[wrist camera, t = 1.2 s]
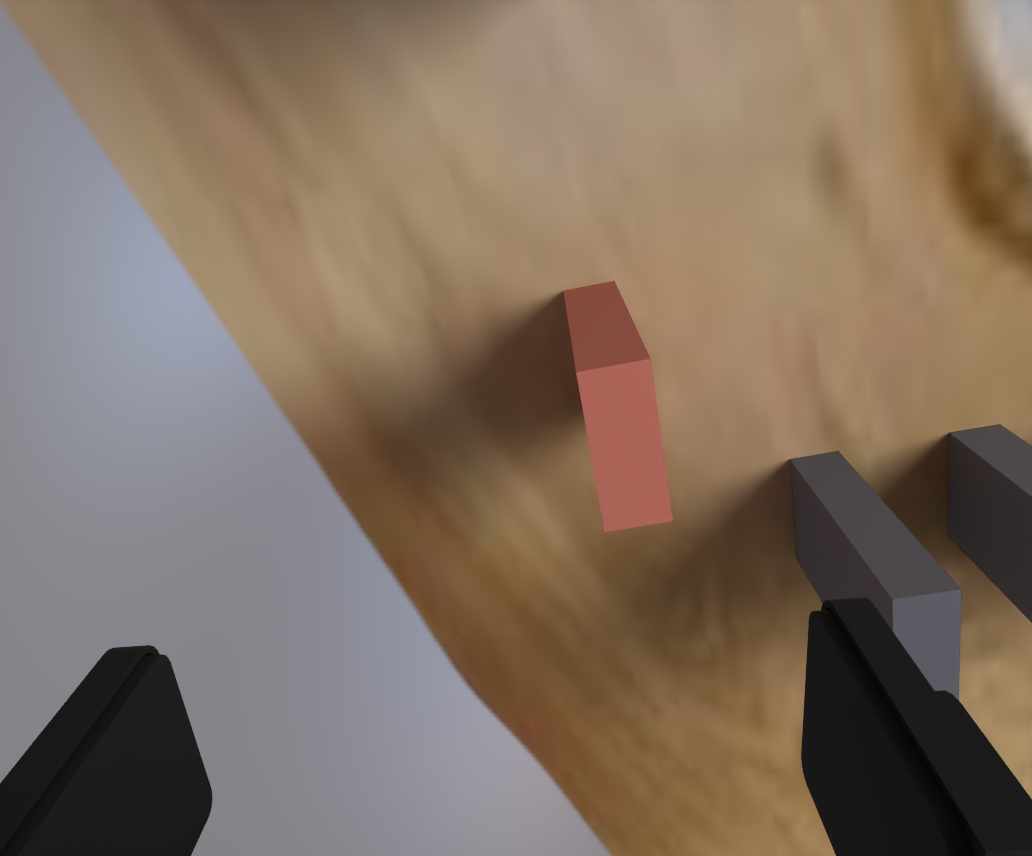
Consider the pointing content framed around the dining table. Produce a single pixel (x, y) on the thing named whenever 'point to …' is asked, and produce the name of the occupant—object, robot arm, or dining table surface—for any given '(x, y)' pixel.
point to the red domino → (618, 408)
